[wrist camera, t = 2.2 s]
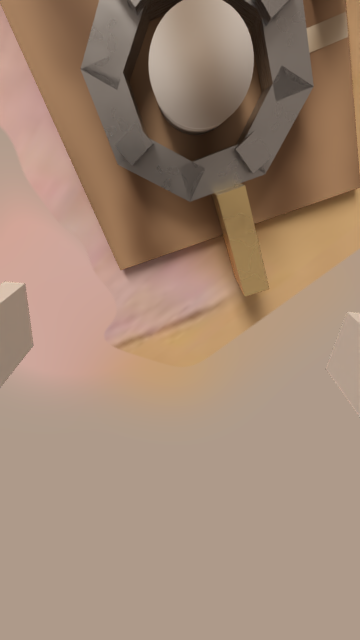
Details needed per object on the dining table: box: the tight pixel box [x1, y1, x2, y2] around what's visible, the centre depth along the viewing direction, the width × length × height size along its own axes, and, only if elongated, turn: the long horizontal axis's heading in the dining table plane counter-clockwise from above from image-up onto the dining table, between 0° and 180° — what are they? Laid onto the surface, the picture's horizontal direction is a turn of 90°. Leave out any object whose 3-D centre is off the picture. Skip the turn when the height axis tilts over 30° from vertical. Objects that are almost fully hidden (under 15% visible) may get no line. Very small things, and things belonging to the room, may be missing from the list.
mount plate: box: [0, 0, 360, 270], centre depth 21 cm, size 22×22×7 cm
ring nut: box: [81, 0, 314, 297], centre depth 23 cm, size 22×14×5 cm, turn 19°
